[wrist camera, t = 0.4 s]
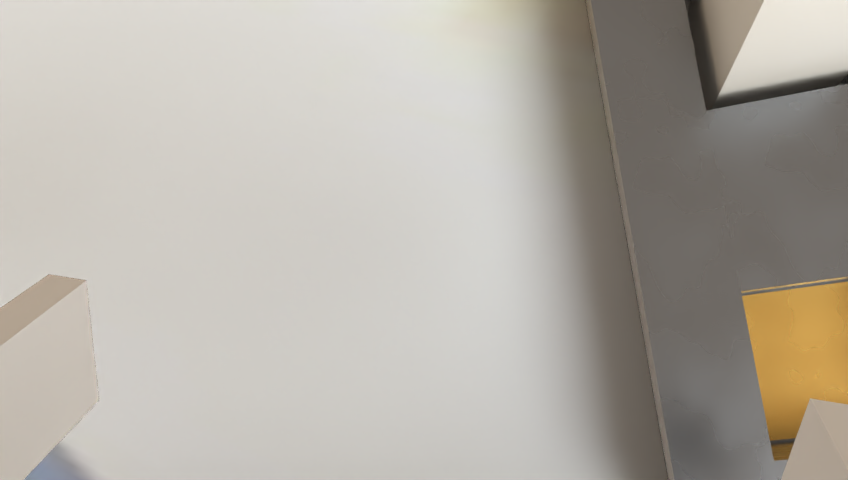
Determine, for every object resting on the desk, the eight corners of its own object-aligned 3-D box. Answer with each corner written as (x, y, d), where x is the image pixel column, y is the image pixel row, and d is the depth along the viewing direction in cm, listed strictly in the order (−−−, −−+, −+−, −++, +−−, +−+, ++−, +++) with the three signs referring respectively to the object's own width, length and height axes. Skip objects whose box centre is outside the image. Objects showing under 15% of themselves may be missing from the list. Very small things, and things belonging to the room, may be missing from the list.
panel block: (1029, 507, 27) (1111, 542, 22) (677, 532, 29) (689, 569, 25) (880, -112, 30) (926, -186, 26) (578, -40, 33) (574, -96, 28)
